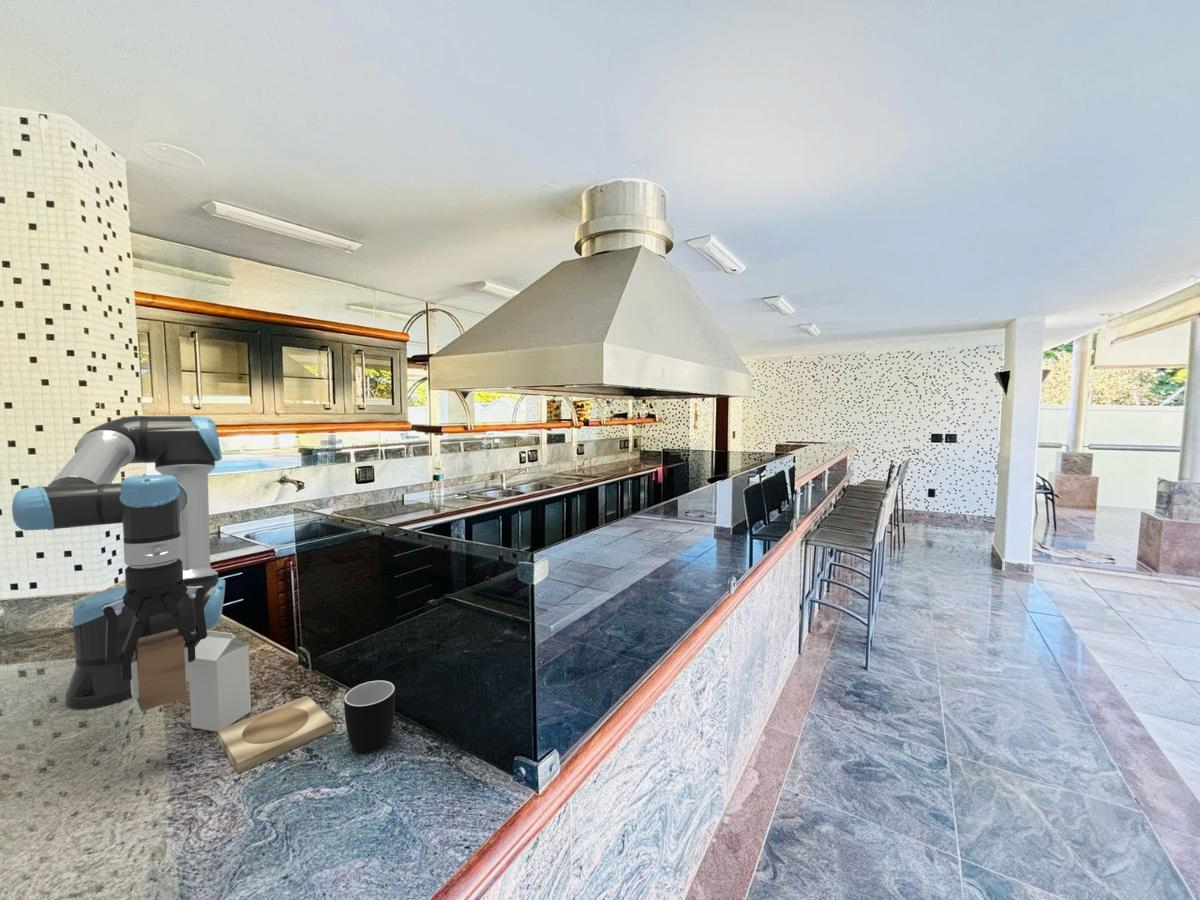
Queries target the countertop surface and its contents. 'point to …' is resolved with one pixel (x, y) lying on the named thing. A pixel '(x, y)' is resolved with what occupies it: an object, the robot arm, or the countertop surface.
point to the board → (273, 732)
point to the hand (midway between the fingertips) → (160, 687)
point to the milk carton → (219, 682)
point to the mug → (369, 715)
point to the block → (160, 669)
